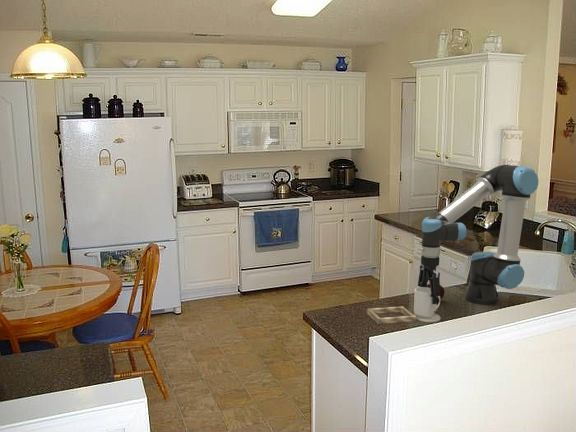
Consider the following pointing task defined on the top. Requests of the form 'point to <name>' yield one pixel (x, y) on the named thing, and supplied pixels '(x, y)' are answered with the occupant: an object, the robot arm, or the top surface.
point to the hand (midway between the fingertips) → (427, 307)
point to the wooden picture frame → (407, 318)
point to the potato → (440, 292)
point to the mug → (423, 302)
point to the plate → (428, 318)
